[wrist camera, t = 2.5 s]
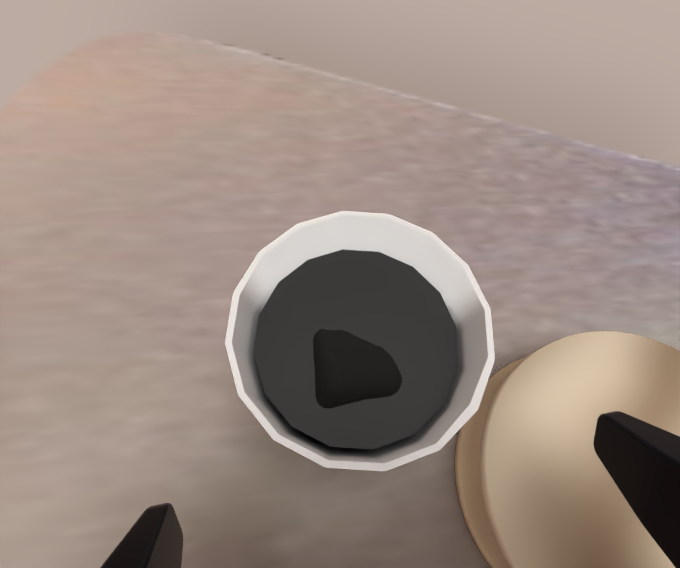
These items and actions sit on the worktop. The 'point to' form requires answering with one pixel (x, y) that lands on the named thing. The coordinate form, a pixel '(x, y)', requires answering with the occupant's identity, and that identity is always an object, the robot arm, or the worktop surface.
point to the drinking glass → (360, 341)
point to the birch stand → (563, 453)
